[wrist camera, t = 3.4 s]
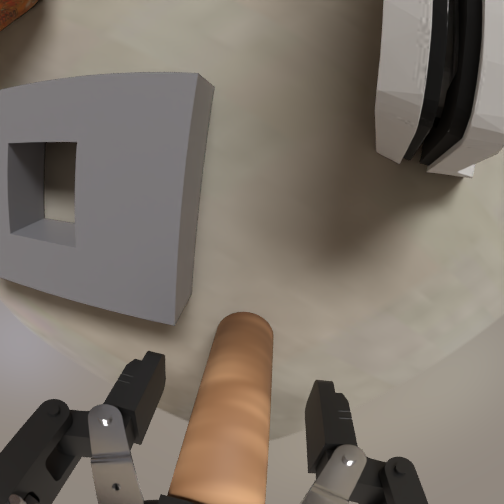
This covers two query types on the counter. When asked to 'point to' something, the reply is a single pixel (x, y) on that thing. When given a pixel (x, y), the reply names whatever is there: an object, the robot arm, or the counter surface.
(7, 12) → the tin
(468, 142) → the hinge
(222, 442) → the peg
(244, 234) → the counter surface
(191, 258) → the hole block
